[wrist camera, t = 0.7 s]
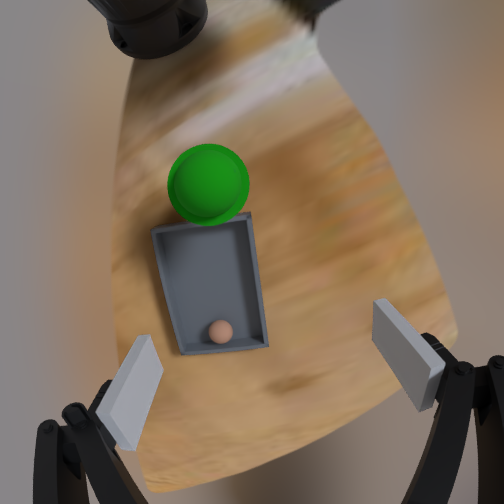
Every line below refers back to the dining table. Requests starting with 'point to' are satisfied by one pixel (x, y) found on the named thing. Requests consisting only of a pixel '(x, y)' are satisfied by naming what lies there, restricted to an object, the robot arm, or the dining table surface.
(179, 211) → the toy
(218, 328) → the ball
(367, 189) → the dining table surface
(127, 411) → the robot arm
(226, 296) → the tray
